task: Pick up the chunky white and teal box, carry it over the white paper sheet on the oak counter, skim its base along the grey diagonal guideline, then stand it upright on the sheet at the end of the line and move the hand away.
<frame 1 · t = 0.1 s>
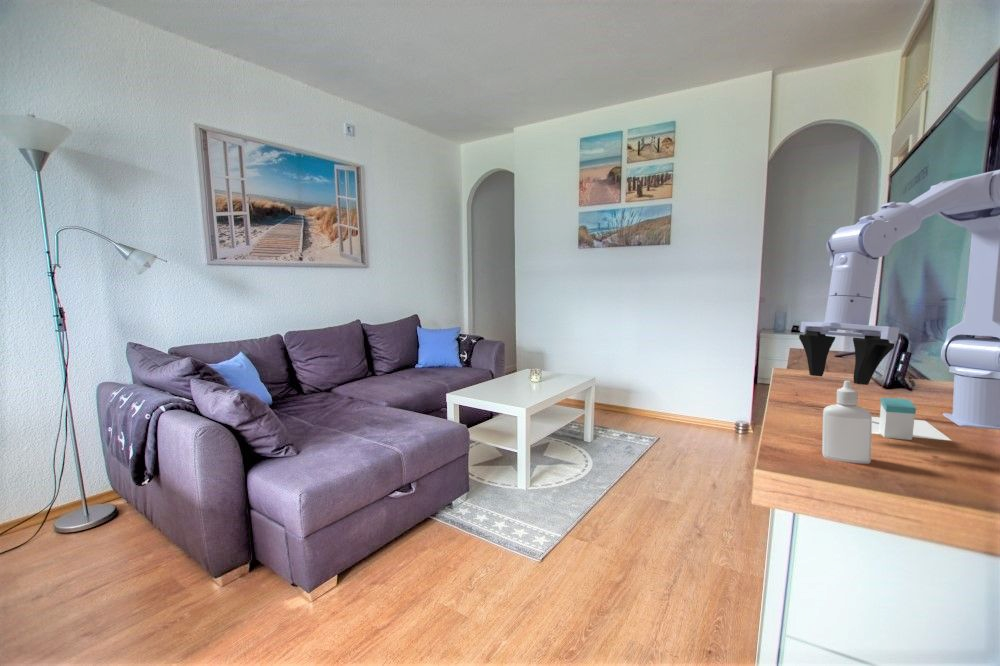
hand: (837, 379, 72), 11 cm above the table, tool pointing down, fingers open, 7 cm apart
paper: (892, 427, 78), on the table
eye dropper bottle: (845, 461, 65), on the table
white and teal box: (894, 435, 74), on the table, tilted 10°, touching paper
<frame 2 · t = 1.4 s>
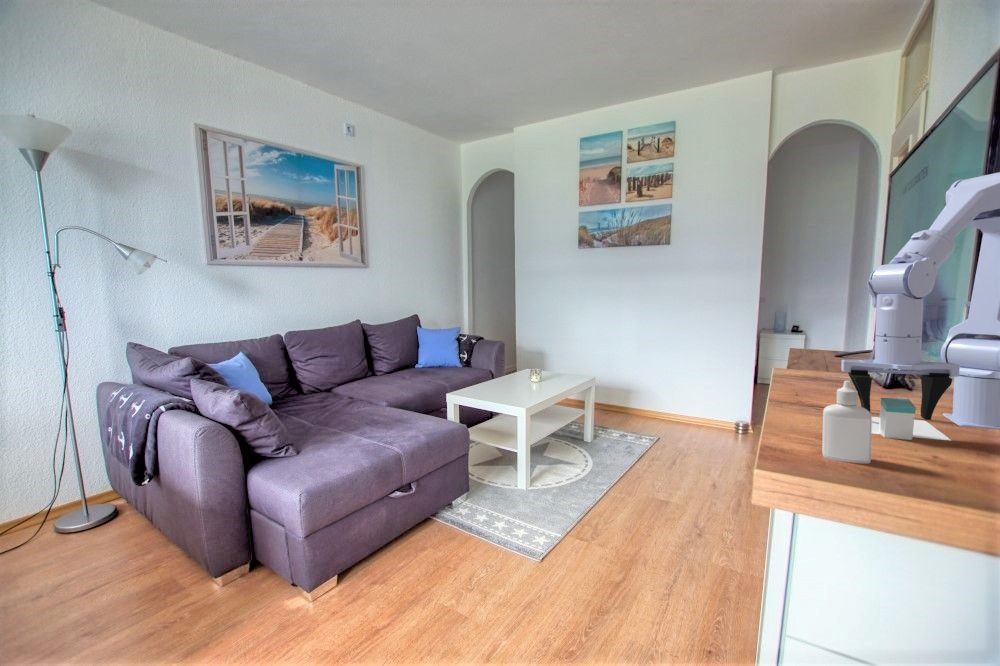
hand: (895, 416, 73), 4 cm above the table, tool pointing down, fingers open, 7 cm apart
nothing on the table moved.
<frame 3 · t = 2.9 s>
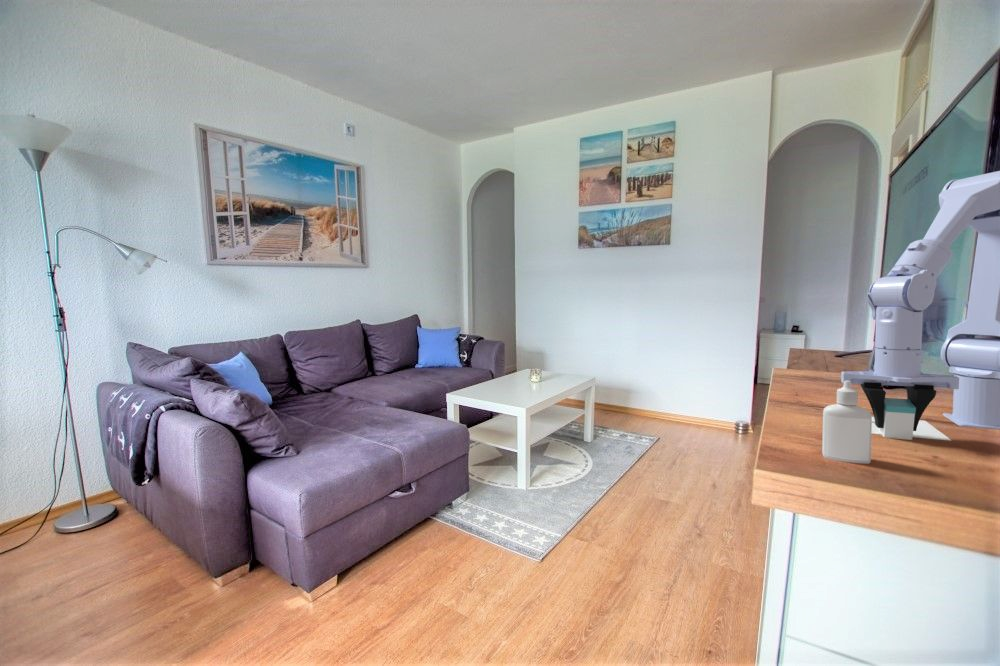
hand: (895, 427, 74), 2 cm above the table, tool pointing down, fingers closed on white and teal box, 3 cm apart
white and teal box: (894, 435, 74), on the table, tilted 10°, touching gripper
everything else where it was.
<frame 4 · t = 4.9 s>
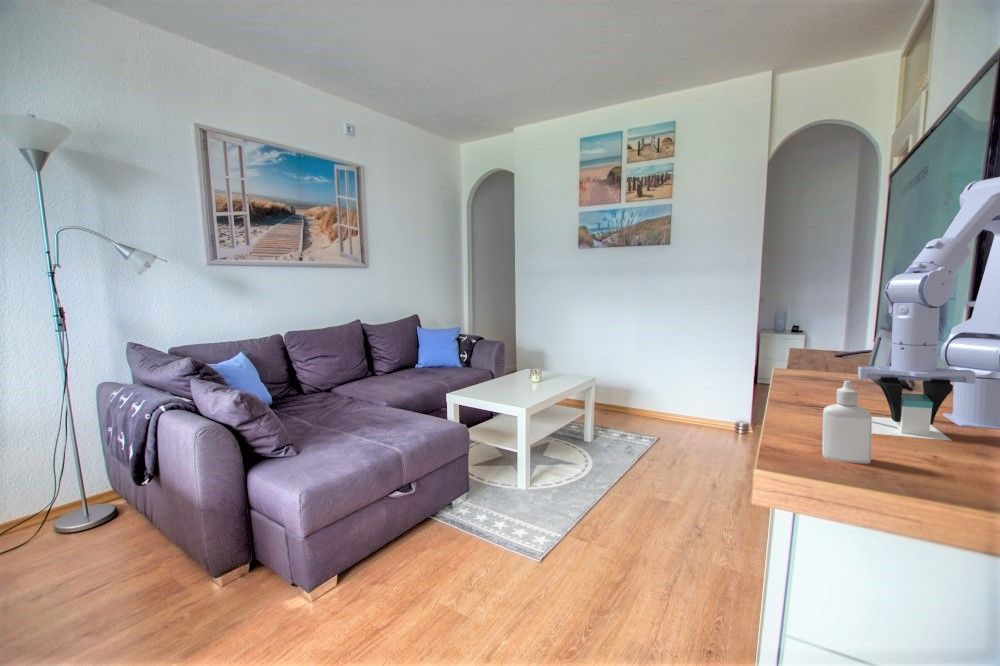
hand: (911, 421, 75), 2 cm above the table, tool pointing down, fingers closed on white and teal box, 3 cm apart
white and teal box: (911, 429, 75), point 1 cm above the table, tilted 10°, touching gripper
everything else where it was.
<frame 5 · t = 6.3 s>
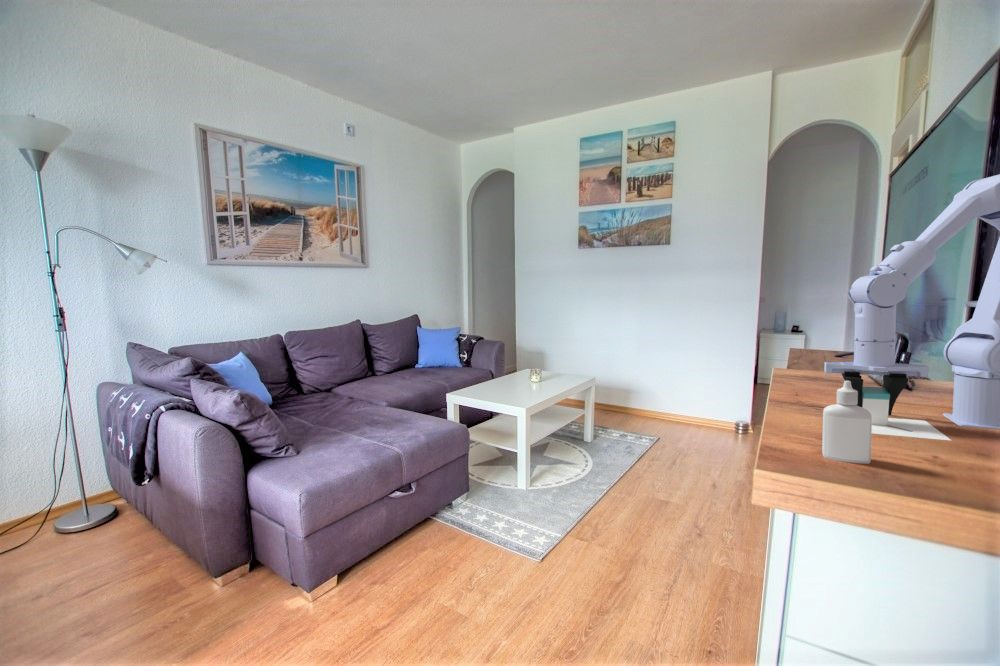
hand: (872, 413, 81), 2 cm above the table, tool pointing down, fingers closed on white and teal box, 3 cm apart
white and teal box: (872, 420, 81), point 1 cm above the table, tilted 9°, touching gripper
everything else where it was.
when the fingers open (2 cm above the table, at t = 7.4 s): white and teal box stays where it is, resting on paper.
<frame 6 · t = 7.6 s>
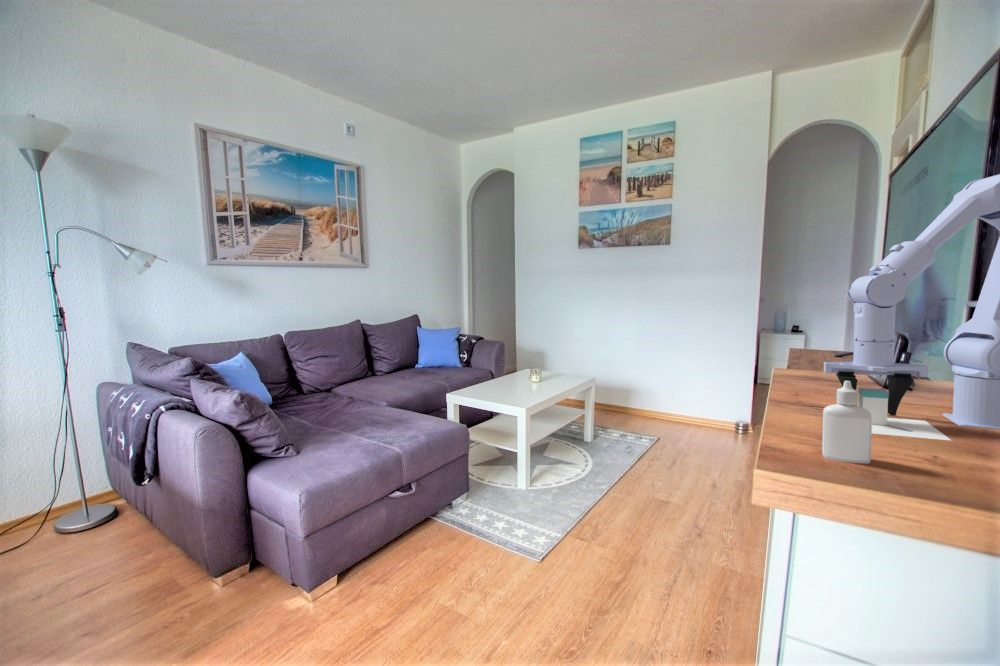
hand: (871, 412, 81), 2 cm above the table, tool pointing down, fingers open, 5 cm apart
white and teal box: (872, 421, 81), resting on paper
everything else where it was.
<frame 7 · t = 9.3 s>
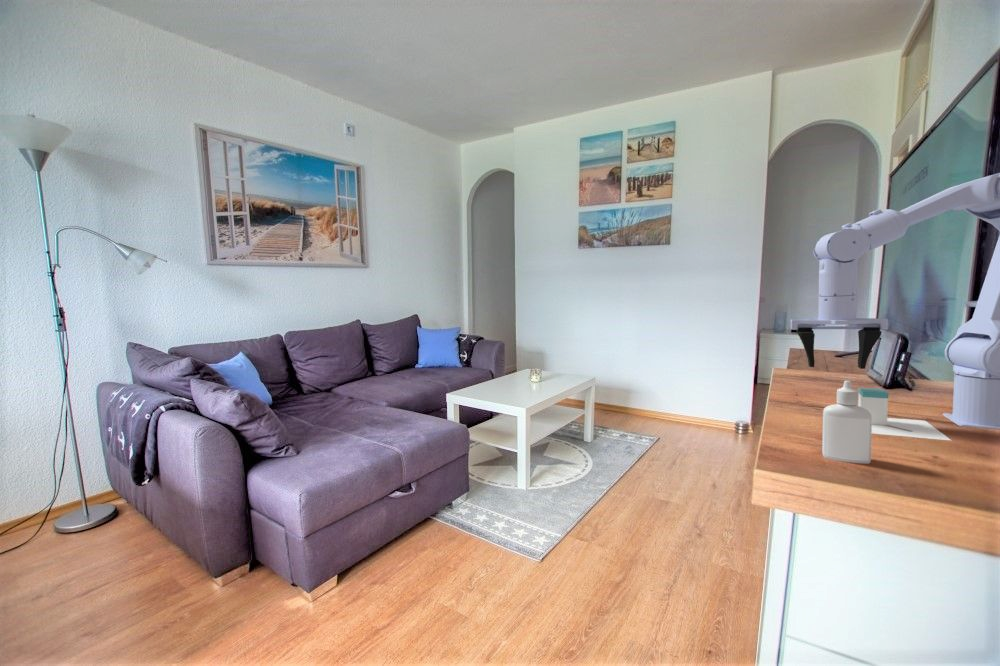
hand: (835, 367, 83), 10 cm above the table, tool pointing down, fingers open, 7 cm apart
nothing on the table moved.
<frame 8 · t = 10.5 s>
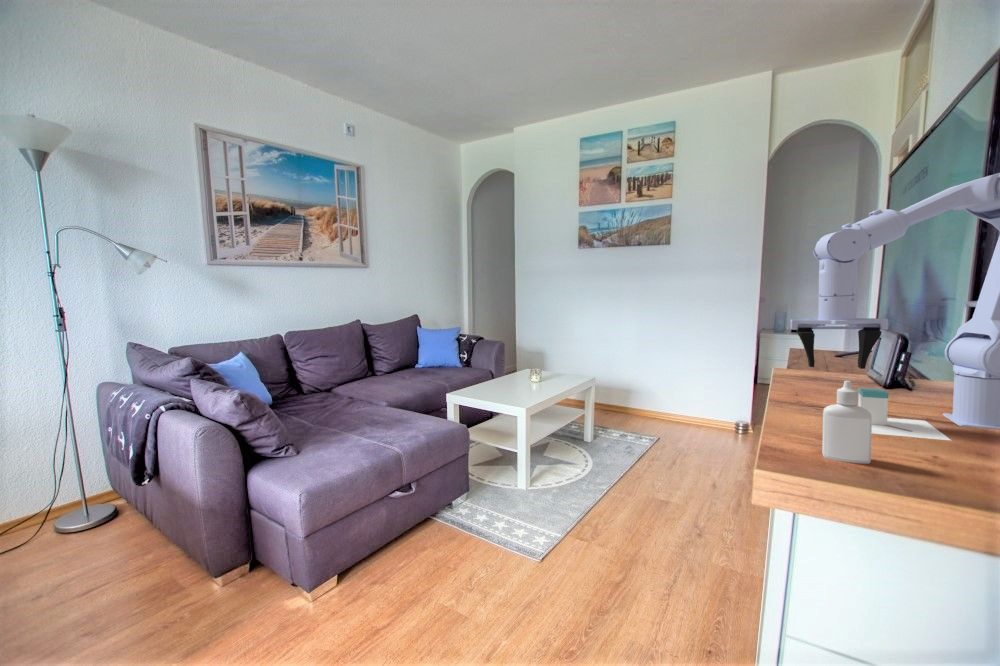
hand: (835, 367, 83), 10 cm above the table, tool pointing down, fingers open, 7 cm apart
nothing on the table moved.
at the end: white and teal box 0.2 cm from the target spot on the paper, point 0.3 cm above the paper's base; white and teal box tilted 0°; the gripper is holding nothing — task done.
